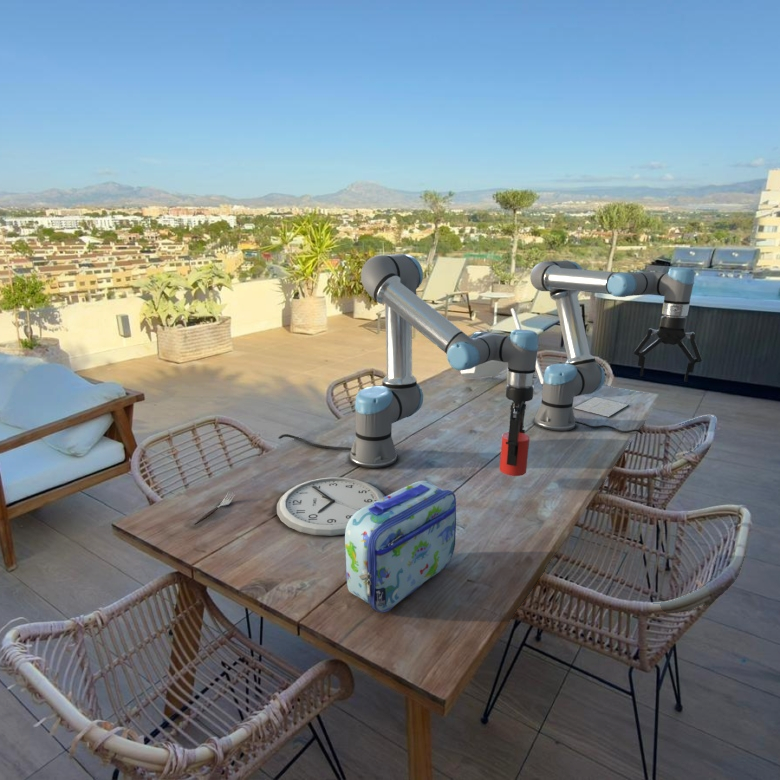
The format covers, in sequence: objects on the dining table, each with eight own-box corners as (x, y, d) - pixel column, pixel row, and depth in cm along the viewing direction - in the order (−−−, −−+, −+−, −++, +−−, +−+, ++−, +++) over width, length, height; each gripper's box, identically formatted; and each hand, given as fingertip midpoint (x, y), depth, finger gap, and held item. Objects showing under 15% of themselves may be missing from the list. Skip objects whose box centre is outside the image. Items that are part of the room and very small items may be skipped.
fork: (190, 525, 132) (189, 518, 131) (229, 496, 146) (228, 490, 145) (198, 527, 131) (198, 520, 130) (237, 498, 145) (236, 491, 145)
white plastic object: (480, 421, 262) (459, 398, 238) (462, 347, 285) (440, 320, 260) (552, 397, 250) (537, 370, 226) (527, 322, 272) (511, 290, 248)
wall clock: (392, 527, 129) (268, 531, 127) (391, 533, 130) (269, 537, 127) (383, 473, 158) (282, 475, 155) (383, 478, 158) (282, 480, 156)
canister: (503, 476, 152) (505, 441, 148) (497, 464, 159) (499, 431, 156) (529, 476, 152) (532, 441, 149) (522, 464, 159) (525, 431, 156)
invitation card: (608, 416, 214) (573, 407, 224) (608, 416, 214) (573, 408, 224) (628, 404, 229) (594, 396, 238) (628, 405, 229) (594, 397, 238)
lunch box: (374, 626, 100) (375, 530, 93) (338, 598, 107) (337, 508, 101) (459, 568, 117) (465, 484, 111) (424, 547, 124) (427, 467, 118)
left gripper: (529, 396, 137) (522, 475, 144) (537, 377, 156) (530, 448, 162) (500, 393, 140) (494, 471, 146) (512, 374, 158) (506, 444, 165)
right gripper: (631, 314, 174) (622, 375, 180) (718, 321, 163) (705, 386, 169) (633, 311, 180) (624, 370, 187) (717, 318, 169) (705, 381, 175)
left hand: (513, 458), depth 154 cm, fingers closed on canister, 8 cm apart
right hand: (662, 378), depth 178 cm, fingers open, 13 cm apart
